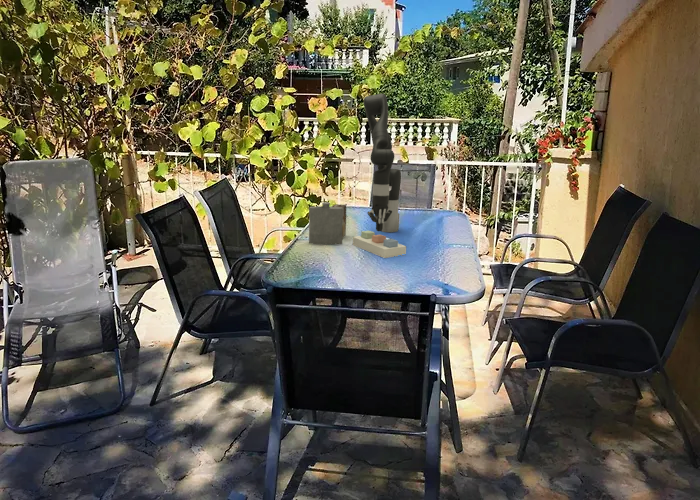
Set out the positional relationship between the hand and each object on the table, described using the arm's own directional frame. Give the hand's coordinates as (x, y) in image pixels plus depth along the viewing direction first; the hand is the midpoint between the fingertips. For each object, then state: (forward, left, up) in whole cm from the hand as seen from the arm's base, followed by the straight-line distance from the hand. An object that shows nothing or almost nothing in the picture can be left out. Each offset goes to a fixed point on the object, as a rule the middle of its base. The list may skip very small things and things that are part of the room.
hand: (379, 230), depth 247 cm
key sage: (0, -9, -5) cm, 10 cm away
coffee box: (+4, -30, -9) cm, 31 cm away
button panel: (0, 0, -9) cm, 9 cm away
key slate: (0, +9, -5) cm, 10 cm away
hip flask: (+16, -22, -9) cm, 28 cm away
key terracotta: (0, 0, -5) cm, 5 cm away
